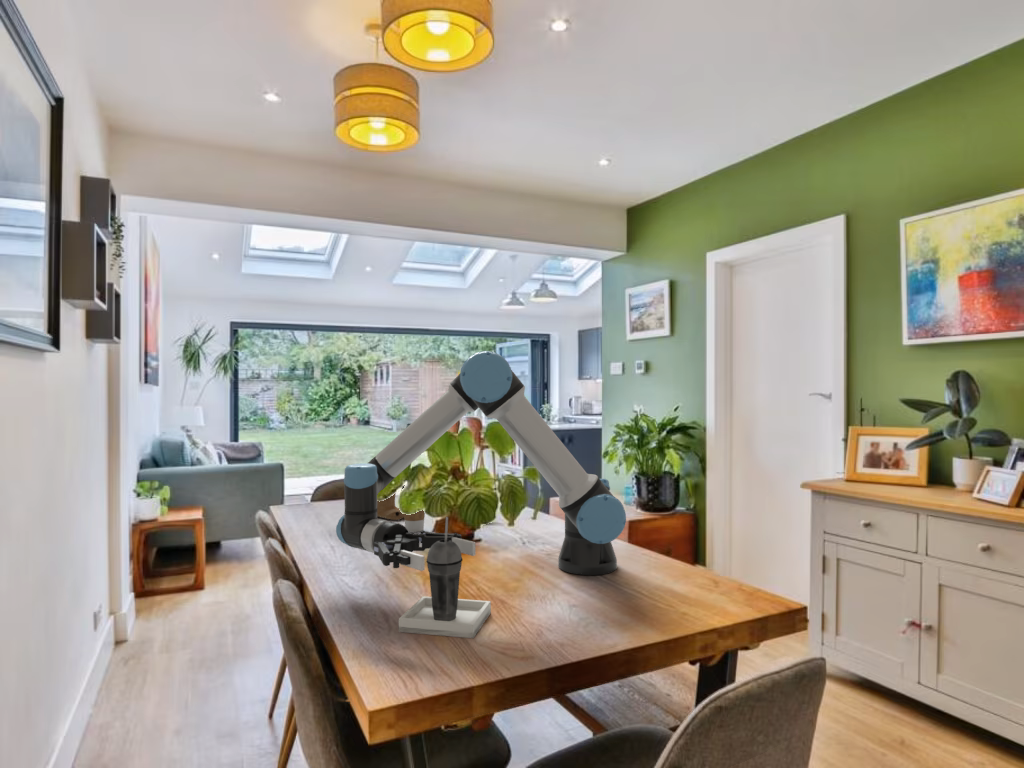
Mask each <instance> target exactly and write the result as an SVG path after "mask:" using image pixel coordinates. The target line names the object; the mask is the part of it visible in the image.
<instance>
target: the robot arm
mask: <svg viewBox="0 0 1024 768" xmlns="http://www.w3.org/2000/svg"><path fill="white" fill-rule="evenodd" d="M525 389H526V385H524V384H523V382H522V381H521V380H520V379H519V377H518V376H517V375H516V374H515V372H514V370H513V369H512V367H511V366H510V363H509V362H508V361H507V360H506V358H505V357H504V356H502V355H500V354H499V353H497V352H494V351H490V350H482V351H478V352H475V353H473V354H471V355H470V356H469V357H468V358H467V359H466V360H465V361H464V362H463V364H462V366H461V367H460V371H459V374H458V375H457V376H456V377H455V378H454V379H453V380H452V381H451V382H450V383H449V384H448V390H446V391H445V392H444V394H442V395H441V396H440V397H439V398H437V400H436V401H435V402H433V403H432V404H431V405H430V406H429V407H428V408H427V409H425V411H424V412H422V414H420V415H419V416H418V417H416V419H414V421H412V422H411V423H410V424H409V425H408V426H406V428H405V429H404V430H403V431H401V432H400V433H399V434H398V435H397V436H396V437H395V438H393V440H392V441H391V442H389V443H388V444H387V445H386V446H384V448H382V449H381V450H380V451H379V452H378V453H377V454H376V455H375V456H374V457H373V458H372V459H370V460H369V461H368V462H365V463H364V462H362V463H352V464H348V465H346V466H345V468H344V477H343V483H344V484H343V485H344V486H343V487H344V488H343V489H344V490H343V491H344V513H343V515H342V516H341V517H340V518H339V519H338V521H337V524H336V526H335V527H336V528H335V535H336V536H337V538H338V540H339V541H340V542H341V543H343V544H344V545H347V546H349V547H350V548H354V549H359V550H362V551H366V552H369V553H372V554H373V555H375V556H377V557H378V558H379V560H380V562H381V563H382V565H383V566H384V567H389V566H390V565H391V563H392V568H393V569H399V568H400V565H401V566H404V567H408V568H411V569H414V570H418V571H421V572H422V571H423V572H424V571H425V568H426V567H425V563H426V562H425V555H422V554H418V553H415V552H423V551H425V550H426V549H427V550H429V549H430V548H431V546H432V545H433V544H434V543H435V542H437V541H439V540H443V539H445V532H444V533H443V532H442V533H441V532H429V531H424V530H423V531H420V533H415V532H408V530H407V529H406V527H405V525H403V524H400V523H398V522H393V521H389V520H386V519H381V518H378V516H377V510H378V508H377V495H378V493H379V492H380V491H381V490H383V489H384V488H385V487H386V486H387V485H388V484H389V483H390V482H391V481H392V480H393V479H395V478H397V476H399V475H400V474H401V473H402V472H403V471H404V470H405V469H407V467H409V466H410V465H411V464H412V463H413V462H414V461H415V460H416V459H417V458H419V457H420V456H421V455H422V454H423V453H424V452H426V451H427V449H429V448H430V447H431V446H432V445H433V444H434V443H435V442H436V441H438V439H439V438H441V437H442V436H443V435H444V434H445V433H446V432H448V431H449V430H450V429H451V428H452V427H453V426H454V425H455V424H456V423H458V422H459V421H460V420H461V419H462V418H464V416H465V415H467V414H468V413H469V412H472V413H475V412H476V411H477V410H478V409H479V410H480V411H481V412H482V413H483V415H484V416H485V417H486V418H489V419H495V420H496V421H497V422H498V423H499V424H500V426H502V428H503V429H504V430H505V432H506V433H507V434H508V435H509V437H510V438H511V439H512V440H513V441H514V442H515V444H516V446H518V448H519V449H520V450H521V451H522V452H523V453H524V455H525V456H526V458H528V460H529V461H530V463H532V465H533V467H535V469H536V470H537V471H538V472H539V474H540V475H541V476H542V477H543V478H544V480H545V481H546V482H547V483H548V484H549V486H550V487H551V488H552V489H553V490H554V491H555V493H556V494H557V496H558V499H559V500H558V507H559V508H560V509H561V511H563V513H564V539H563V542H562V544H561V548H560V551H559V554H558V561H557V562H558V568H559V569H560V570H562V571H564V572H566V573H569V574H570V573H571V574H574V575H580V576H581V575H583V576H599V575H606V574H611V573H612V572H614V571H616V570H617V568H618V564H617V563H618V562H617V561H618V559H617V556H616V553H615V550H614V547H613V544H612V541H615V540H616V539H617V538H618V537H619V536H620V535H621V534H622V533H623V532H624V529H625V526H626V523H627V514H626V511H625V507H624V505H623V504H622V502H621V501H620V500H619V499H618V498H617V497H615V496H614V495H613V494H612V492H611V491H610V490H611V486H610V481H609V480H608V479H606V478H600V477H599V476H598V475H596V474H595V473H594V474H592V473H587V472H586V470H585V469H584V467H583V466H582V465H581V464H580V463H579V462H578V460H577V459H576V458H575V457H574V455H573V454H572V453H571V452H570V450H569V449H568V448H567V447H566V445H565V444H564V443H563V442H562V440H561V439H560V438H559V437H558V436H557V434H556V433H555V432H554V431H553V429H552V428H551V427H550V426H549V424H548V423H547V422H546V420H544V418H543V417H542V416H541V414H539V412H538V411H537V410H536V409H535V407H534V406H533V405H532V403H530V400H528V399H527V398H526V396H525ZM447 540H451V541H453V542H454V543H455V544H457V546H458V547H459V549H460V551H461V554H465V555H468V556H472V557H474V556H476V554H477V553H476V542H475V541H472V540H469V539H464V538H462V534H459V533H457V532H454V533H447ZM420 544H421V546H420Z"/></svg>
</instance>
